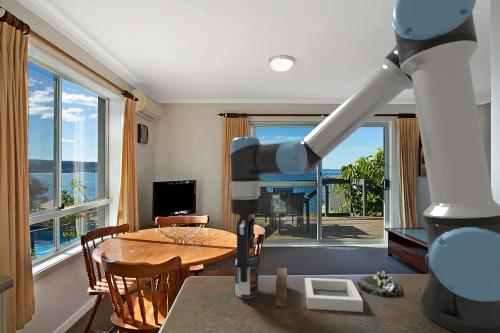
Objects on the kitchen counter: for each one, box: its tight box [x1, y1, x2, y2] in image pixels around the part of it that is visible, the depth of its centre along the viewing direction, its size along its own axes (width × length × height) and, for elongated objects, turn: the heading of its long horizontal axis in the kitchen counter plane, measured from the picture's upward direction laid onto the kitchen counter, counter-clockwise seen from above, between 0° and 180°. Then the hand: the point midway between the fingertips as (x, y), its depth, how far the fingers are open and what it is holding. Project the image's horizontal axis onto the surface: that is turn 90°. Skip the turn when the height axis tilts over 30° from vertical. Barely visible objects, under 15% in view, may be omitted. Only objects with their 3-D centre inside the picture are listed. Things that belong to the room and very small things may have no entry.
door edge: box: [275, 267, 288, 307], centre depth 70 cm, size 2×11×5 cm, turn 172°
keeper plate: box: [304, 277, 364, 313], centre depth 68 cm, size 12×12×2 cm
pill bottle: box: [234, 248, 259, 299], centre depth 71 cm, size 6×6×11 cm
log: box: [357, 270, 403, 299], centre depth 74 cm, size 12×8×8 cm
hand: (246, 288), depth 71 cm, fingers closed on pill bottle, 6 cm apart
